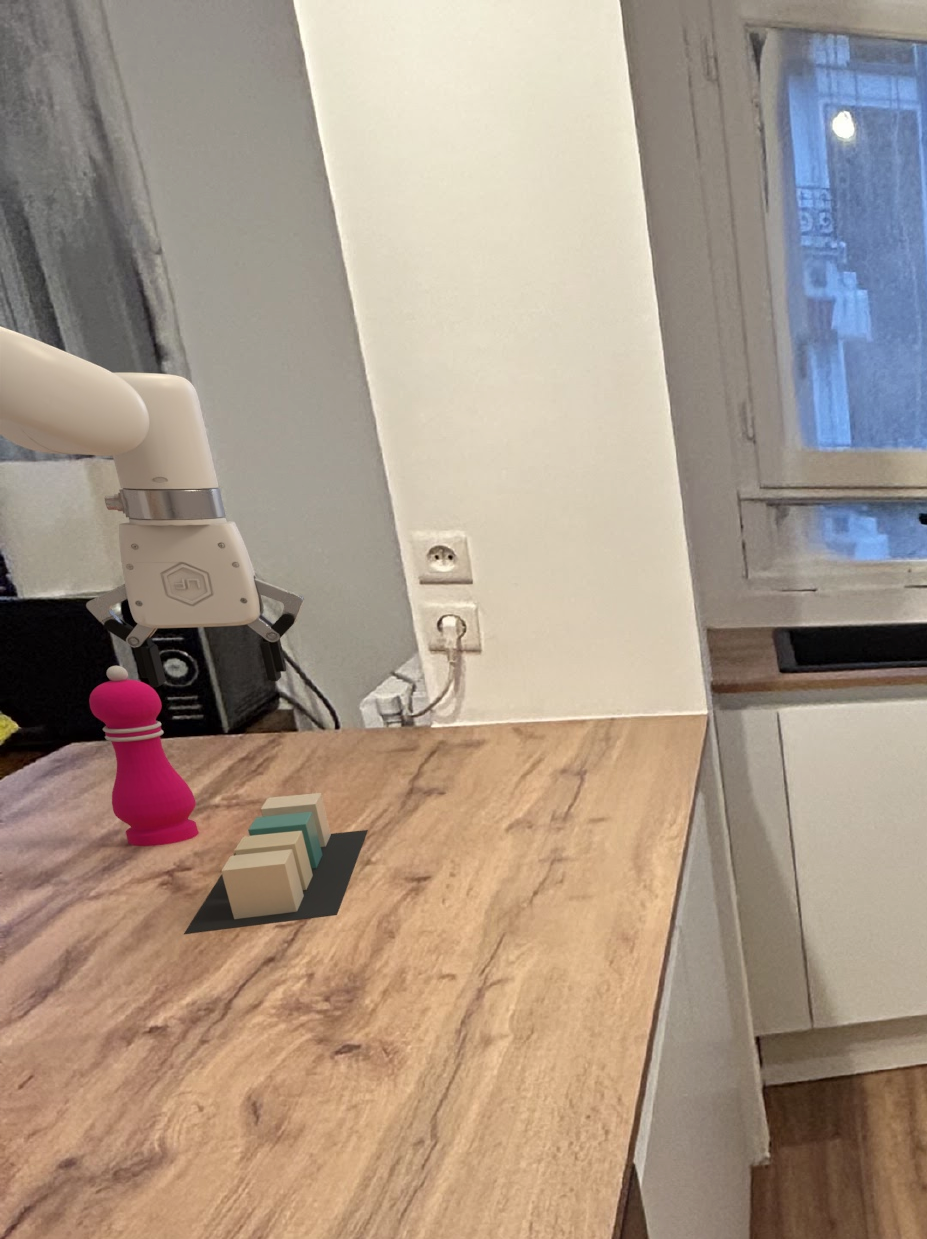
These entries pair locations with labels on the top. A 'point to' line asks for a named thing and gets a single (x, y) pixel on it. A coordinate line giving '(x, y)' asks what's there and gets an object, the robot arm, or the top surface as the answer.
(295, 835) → the cream block
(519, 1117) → the top surface
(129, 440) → the robot arm
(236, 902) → the cream block
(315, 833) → the teal block
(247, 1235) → the top surface
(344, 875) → the mat
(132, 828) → the pepper mill
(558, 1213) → the top surface
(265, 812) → the cream block
